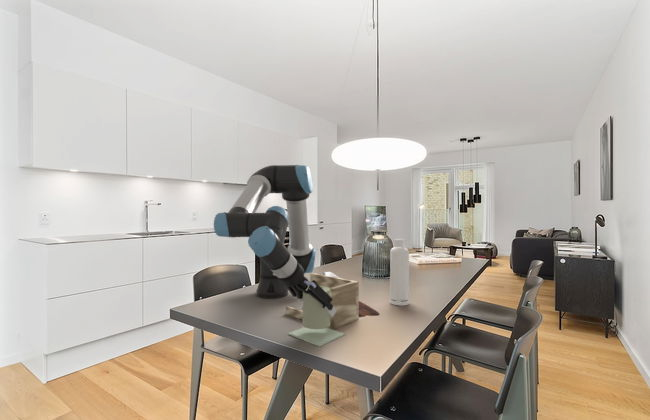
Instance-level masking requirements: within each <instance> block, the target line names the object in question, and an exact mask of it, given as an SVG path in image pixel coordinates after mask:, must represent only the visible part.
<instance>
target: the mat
mask: <svg viewBox="0 0 650 420" xmlns="http://www.w3.org/2000/svg"><path fill="white" fill-rule="evenodd" d="M288 335H289V336H291V337H293V338H294V337H295V338H297V339H299V340H302V341H305V342H306V343H309V344H312V345H315V346H317V347H322V346H324V345H327V344H328V343H332V342H333V341H336V340H337V339H339V338H342V337H344V336H345V333H344V332H341V331H338V330H335V329H333V330H332V329H329V328H323V329H309V328H306V327H304V326H303V327H300V328H299V329H296V330H295V329H294V330H293V331H290V332H288Z"/></svg>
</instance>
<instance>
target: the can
mask: <svg viewBox="0 0 650 420" xmlns="http://www.w3.org/2000/svg"><path fill="white" fill-rule="evenodd" d="M320 287H321V288H322V289H323V290H324V291H325V292H326V293H327V294H328V295H329V296H330V288H328V287H325V286H320ZM308 288H309V286H308ZM308 288H307V289H308ZM307 289H306V291H307ZM302 310H303V320H302V324H301V325H302V326H303V327H306V328H309V329H323V328H327V327H329V326H330V315H329V314H328V313H327V311H326V310H325V309H324V308H322V304H321V303H320V302H318V301H317V300H316V299H315V298H313V297H312V296H311V295H309V294H306V293H304V292H303V302H302Z"/></svg>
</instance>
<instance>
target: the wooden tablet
mask: <svg viewBox="0 0 650 420" xmlns="http://www.w3.org/2000/svg"><path fill="white" fill-rule="evenodd" d="M379 315H380V313H379V311H377V310H376V309H374V308H373V307H371V306H369V305H367V304H366V303H364V302H362V301H360V300H359V318H364V317H366V316H369V317H375V316H379Z"/></svg>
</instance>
